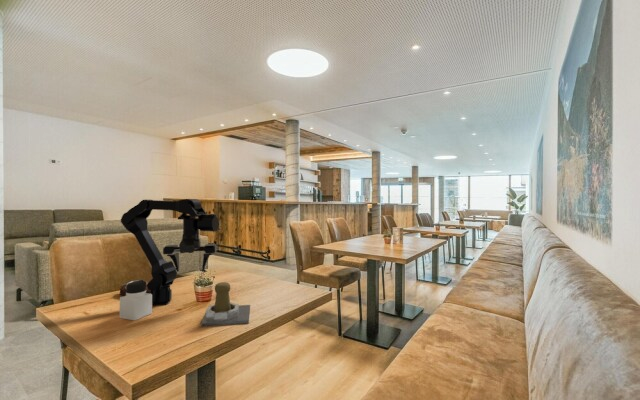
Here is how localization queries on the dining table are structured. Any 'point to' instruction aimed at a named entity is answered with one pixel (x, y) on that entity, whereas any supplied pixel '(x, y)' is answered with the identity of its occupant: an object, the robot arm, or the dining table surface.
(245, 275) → the dining table surface
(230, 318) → the socket block
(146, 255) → the robot arm
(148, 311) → the medicine bottle
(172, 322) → the dining table surface
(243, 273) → the dining table surface
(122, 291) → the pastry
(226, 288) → the cork
